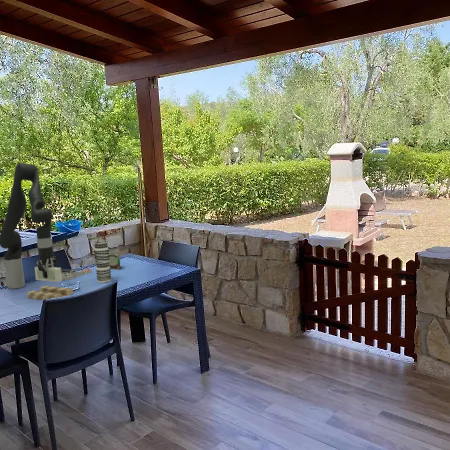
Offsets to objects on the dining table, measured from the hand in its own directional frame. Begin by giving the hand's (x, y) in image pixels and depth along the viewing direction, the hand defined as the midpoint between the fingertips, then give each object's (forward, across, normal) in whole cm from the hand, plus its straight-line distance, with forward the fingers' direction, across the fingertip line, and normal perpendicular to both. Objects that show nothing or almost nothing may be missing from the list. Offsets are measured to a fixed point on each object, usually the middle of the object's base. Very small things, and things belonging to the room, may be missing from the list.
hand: (48, 276), depth 246 cm
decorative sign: (+12, +38, +21) cm, 45 cm away
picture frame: (+2, 0, 0) cm, 2 cm away
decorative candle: (+11, +33, -10) cm, 36 cm away
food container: (+11, +60, +2) cm, 61 cm away
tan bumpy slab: (+11, 0, 0) cm, 11 cm away
